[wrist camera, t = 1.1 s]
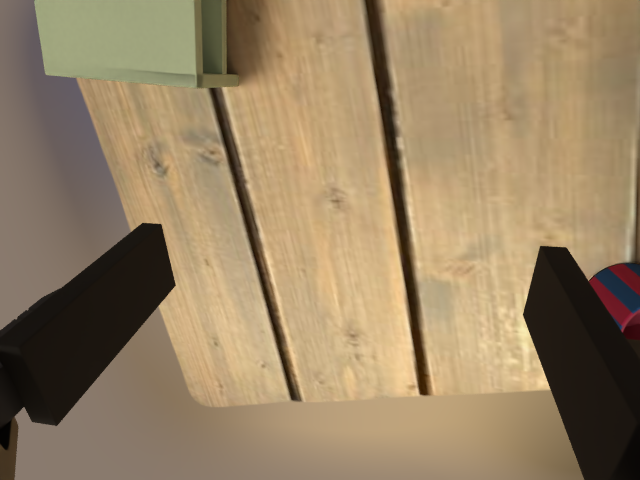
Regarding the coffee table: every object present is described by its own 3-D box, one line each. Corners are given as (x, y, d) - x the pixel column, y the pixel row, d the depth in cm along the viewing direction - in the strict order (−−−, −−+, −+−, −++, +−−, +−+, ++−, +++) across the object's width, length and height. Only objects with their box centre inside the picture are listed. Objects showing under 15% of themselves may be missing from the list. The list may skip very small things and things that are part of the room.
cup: (658, 323, 40) (707, 369, 34) (544, 330, 42) (571, 374, 36) (665, 259, 38) (719, 295, 32) (545, 269, 40) (573, 305, 34)
